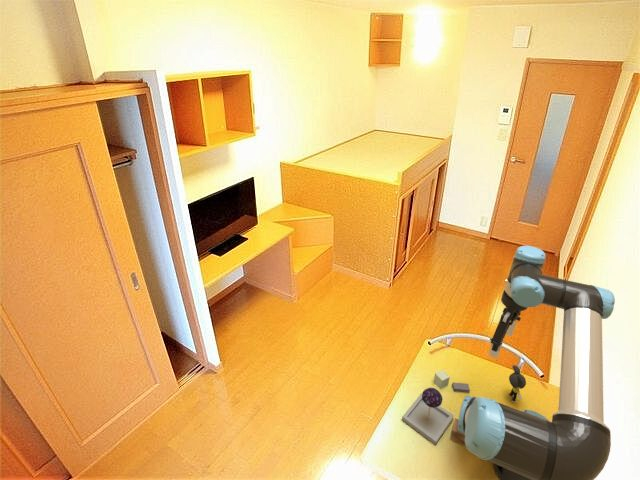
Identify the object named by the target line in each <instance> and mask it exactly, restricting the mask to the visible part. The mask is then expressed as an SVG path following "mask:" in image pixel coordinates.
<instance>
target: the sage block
mask: <svg viewBox="0 0 640 480" xmlns="http://www.w3.org/2000/svg"><path fill="white" fill-rule="evenodd" d="M450 378H451V376H450V375H449V374H448V373H447V372H446V371H445V370H444V369H441V370H440V371H436V372H434V377H433V383H434V384H435V385H436V386H437V387H438V388H439V390H442V389H444V388H445V387H446V388H447V387H448V386H449V382H450Z"/></svg>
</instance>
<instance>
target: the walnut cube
mask: <svg viewBox="0 0 640 480" xmlns="http://www.w3.org/2000/svg"><path fill="white" fill-rule="evenodd" d="M453 420H454V421H453V424H452V428H451V433H450V437H449V439H450V440H452V441H454V442H456V443H458V444H461V445H463V446H466V445H465V435H464V434H463V433H461V432H459V430H458V420H459V418H454V419H453Z"/></svg>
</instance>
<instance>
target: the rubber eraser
mask: <svg viewBox="0 0 640 480" xmlns="http://www.w3.org/2000/svg"><path fill="white" fill-rule="evenodd" d="M451 388H452V392H455V393H467V394H469V393H470V392H471V389H470V386H469V383H463V382H455V381H454V382H452V383H451Z"/></svg>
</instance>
